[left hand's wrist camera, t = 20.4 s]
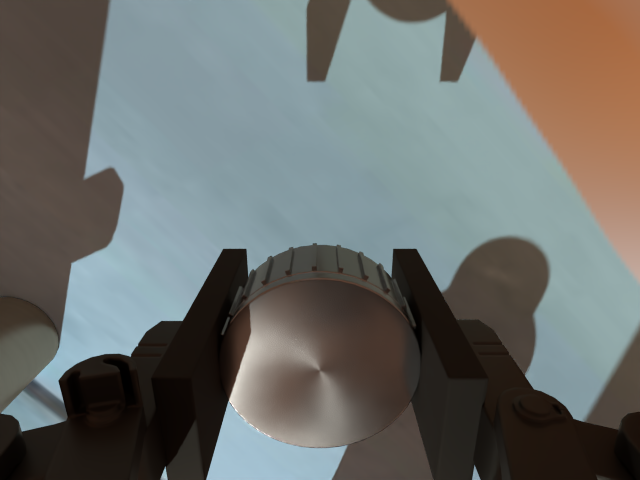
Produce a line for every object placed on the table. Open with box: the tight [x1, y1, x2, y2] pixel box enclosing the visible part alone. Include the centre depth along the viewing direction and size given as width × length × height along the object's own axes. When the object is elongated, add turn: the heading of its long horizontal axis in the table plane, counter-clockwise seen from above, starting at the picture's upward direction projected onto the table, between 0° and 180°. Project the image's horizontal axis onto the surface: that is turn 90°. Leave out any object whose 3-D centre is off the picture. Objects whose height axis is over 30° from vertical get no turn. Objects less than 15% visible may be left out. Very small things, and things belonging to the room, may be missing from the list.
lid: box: [218, 243, 421, 448], centre depth 11 cm, size 5×5×2 cm
